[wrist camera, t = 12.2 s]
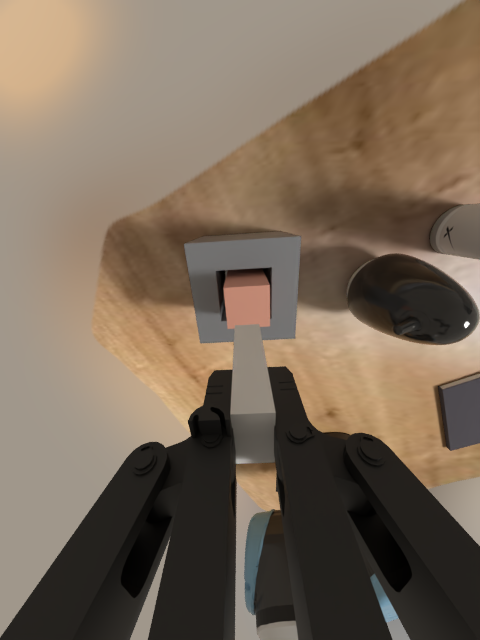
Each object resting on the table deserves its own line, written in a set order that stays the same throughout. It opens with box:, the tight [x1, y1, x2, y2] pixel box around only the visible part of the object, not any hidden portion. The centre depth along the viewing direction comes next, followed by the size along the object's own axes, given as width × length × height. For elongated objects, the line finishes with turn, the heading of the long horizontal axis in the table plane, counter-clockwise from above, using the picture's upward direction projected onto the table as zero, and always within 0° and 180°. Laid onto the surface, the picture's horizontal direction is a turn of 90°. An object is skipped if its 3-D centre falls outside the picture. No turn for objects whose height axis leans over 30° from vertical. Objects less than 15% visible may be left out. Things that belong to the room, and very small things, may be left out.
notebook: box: [438, 373, 480, 451], centre depth 44 cm, size 13×2×21 cm
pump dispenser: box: [347, 253, 480, 345], centre depth 26 cm, size 10×10×15 cm
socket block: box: [184, 231, 301, 343], centre depth 27 cm, size 11×11×11 cm
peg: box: [223, 268, 270, 329], centre depth 23 cm, size 4×4×10 cm
